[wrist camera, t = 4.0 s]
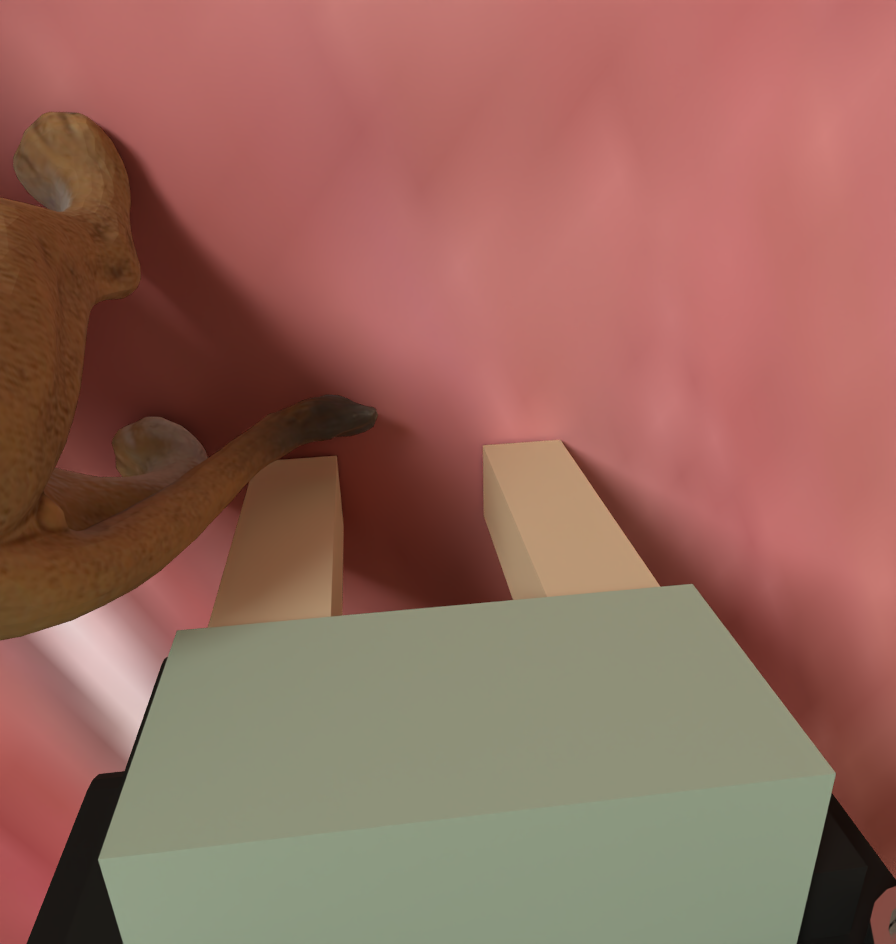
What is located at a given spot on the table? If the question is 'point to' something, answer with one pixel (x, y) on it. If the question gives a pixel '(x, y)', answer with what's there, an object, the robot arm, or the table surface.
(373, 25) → the table surface
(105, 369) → the table surface
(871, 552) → the table surface
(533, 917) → the sage stool
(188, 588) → the table surface
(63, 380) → the lion figurine
